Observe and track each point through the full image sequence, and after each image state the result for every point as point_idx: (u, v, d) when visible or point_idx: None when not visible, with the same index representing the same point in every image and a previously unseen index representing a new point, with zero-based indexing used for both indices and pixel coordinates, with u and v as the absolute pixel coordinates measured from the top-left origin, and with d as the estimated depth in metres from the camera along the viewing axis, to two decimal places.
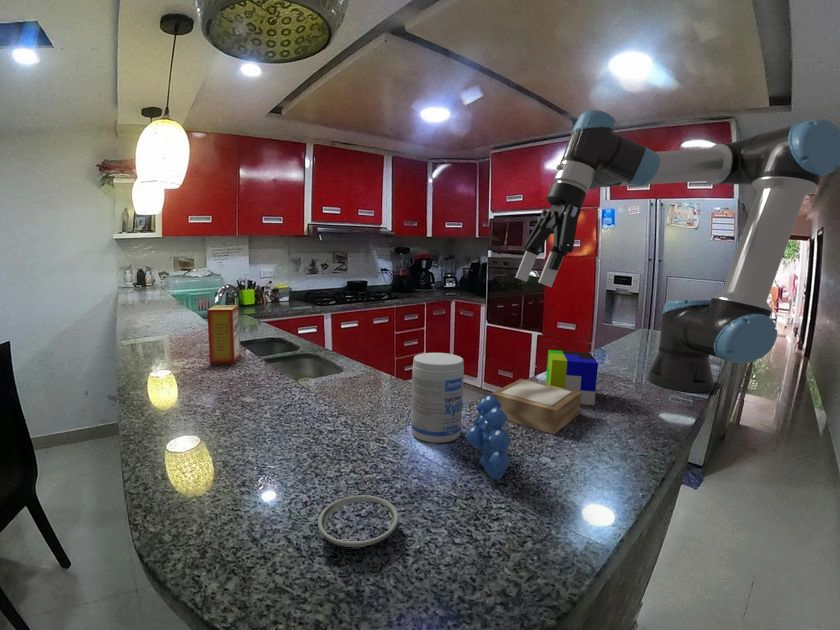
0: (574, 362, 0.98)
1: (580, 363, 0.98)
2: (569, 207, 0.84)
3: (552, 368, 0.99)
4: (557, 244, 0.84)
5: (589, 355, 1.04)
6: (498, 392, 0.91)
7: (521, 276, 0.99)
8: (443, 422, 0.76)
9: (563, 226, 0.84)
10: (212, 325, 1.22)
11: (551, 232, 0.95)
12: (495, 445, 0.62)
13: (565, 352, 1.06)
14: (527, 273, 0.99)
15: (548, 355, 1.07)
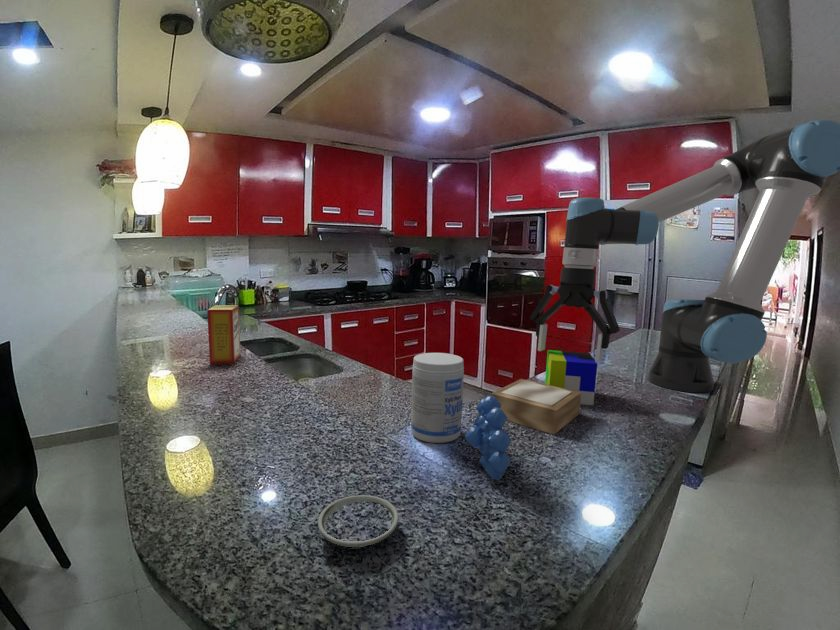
0: (573, 362, 0.98)
1: (579, 363, 0.97)
2: (604, 293, 0.95)
3: (551, 368, 0.99)
4: (605, 327, 0.96)
5: (588, 355, 1.04)
6: (498, 392, 0.91)
7: (542, 347, 1.06)
8: (443, 422, 0.76)
9: (606, 311, 0.95)
10: (212, 324, 1.22)
11: None
12: (495, 445, 0.62)
13: (564, 352, 1.06)
14: (544, 342, 1.07)
15: (547, 355, 1.07)
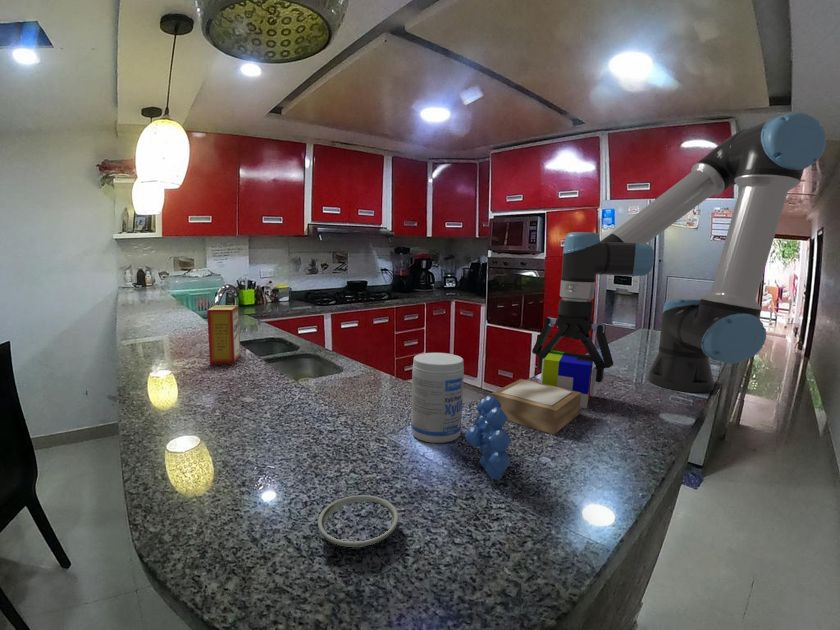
0: (566, 363, 0.97)
1: (572, 364, 0.96)
2: (601, 328, 0.96)
3: (544, 368, 0.99)
4: (599, 362, 0.98)
5: (589, 357, 1.01)
6: (498, 392, 0.91)
7: None
8: (443, 422, 0.76)
9: (601, 346, 0.97)
10: (212, 325, 1.22)
11: (563, 336, 1.05)
12: (495, 445, 0.62)
13: (566, 353, 1.05)
14: None
15: None
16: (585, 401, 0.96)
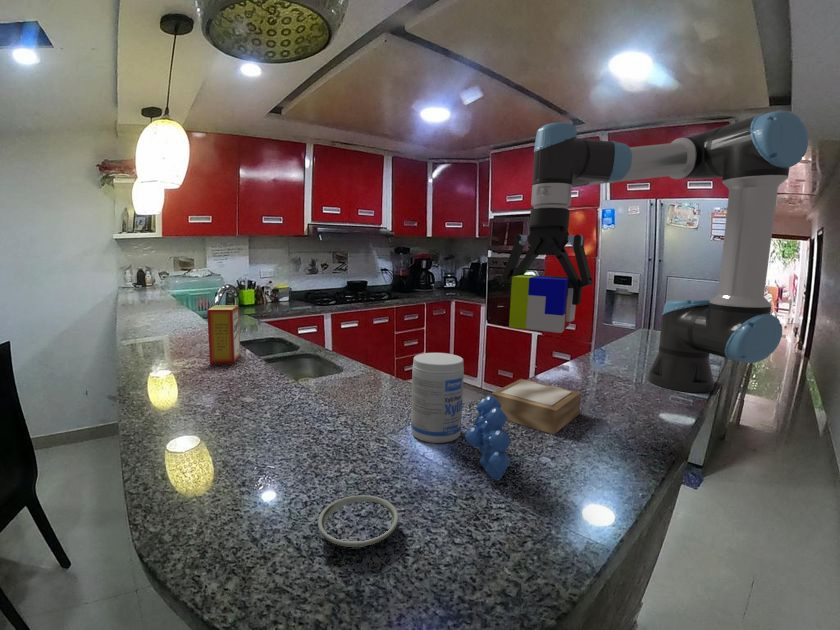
0: (537, 279, 0.81)
1: (544, 280, 0.81)
2: (579, 238, 0.81)
3: (512, 287, 0.84)
4: (576, 280, 0.82)
5: (567, 277, 0.86)
6: (498, 392, 0.91)
7: None
8: (443, 422, 0.76)
9: (579, 259, 0.81)
10: (212, 324, 1.22)
11: (536, 256, 0.89)
12: (495, 445, 0.62)
13: None
14: None
15: None
16: (560, 324, 0.80)
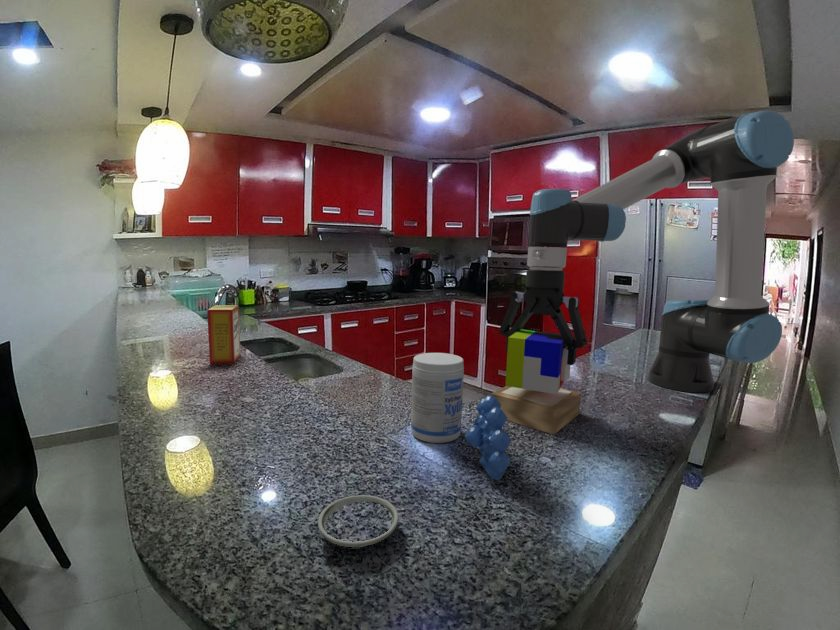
0: (533, 341, 0.83)
1: (539, 342, 0.82)
2: (574, 301, 0.83)
3: (508, 347, 0.85)
4: (571, 341, 0.84)
5: None
6: (498, 392, 0.91)
7: None
8: (443, 422, 0.76)
9: (573, 322, 0.83)
10: (212, 324, 1.22)
11: (532, 313, 0.91)
12: (495, 445, 0.62)
13: (537, 332, 0.91)
14: None
15: None
16: (555, 386, 0.82)
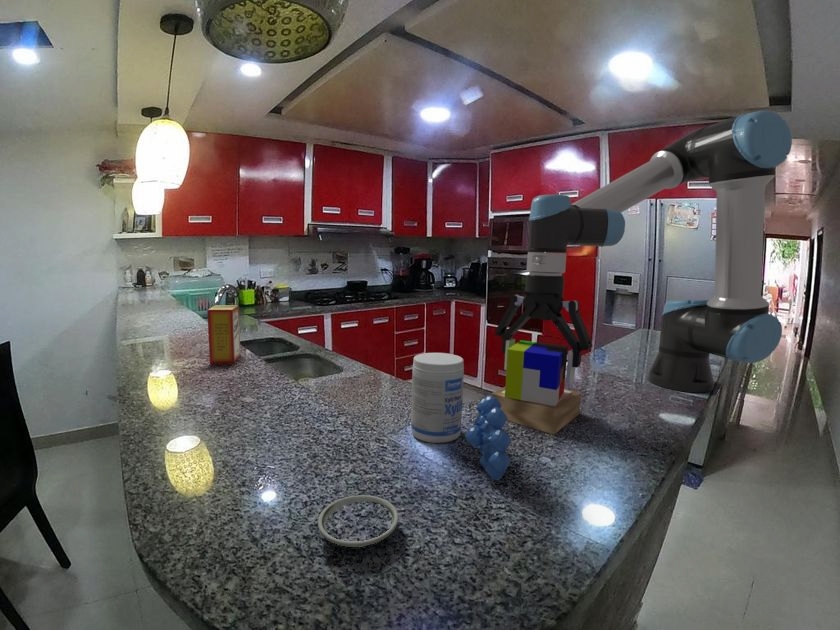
0: (532, 353, 0.84)
1: (538, 355, 0.83)
2: (573, 304, 0.83)
3: (508, 359, 0.86)
4: (575, 343, 0.83)
5: (562, 348, 0.88)
6: (498, 392, 0.91)
7: None
8: (443, 422, 0.76)
9: (576, 325, 0.83)
10: (212, 325, 1.22)
11: (530, 317, 0.91)
12: (495, 445, 0.62)
13: (537, 343, 0.91)
14: None
15: None
16: (554, 398, 0.83)
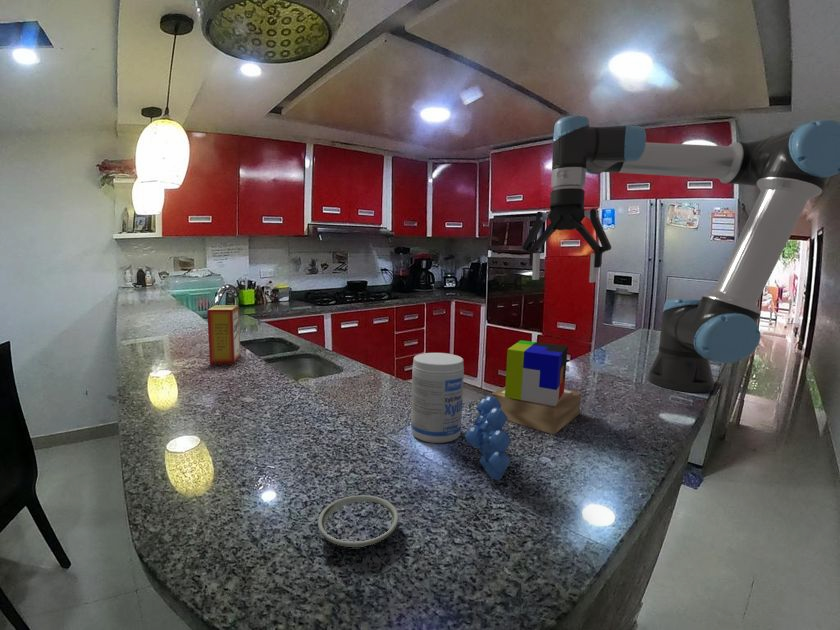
0: (532, 353, 0.84)
1: (538, 355, 0.83)
2: (594, 211, 0.95)
3: (508, 359, 0.86)
4: (597, 246, 0.96)
5: (562, 348, 0.88)
6: (498, 392, 0.91)
7: (536, 276, 1.06)
8: (443, 422, 0.76)
9: (597, 229, 0.96)
10: (212, 325, 1.22)
11: (554, 231, 1.04)
12: (495, 445, 0.62)
13: (537, 343, 0.91)
14: (538, 272, 1.07)
15: None
16: (554, 398, 0.83)
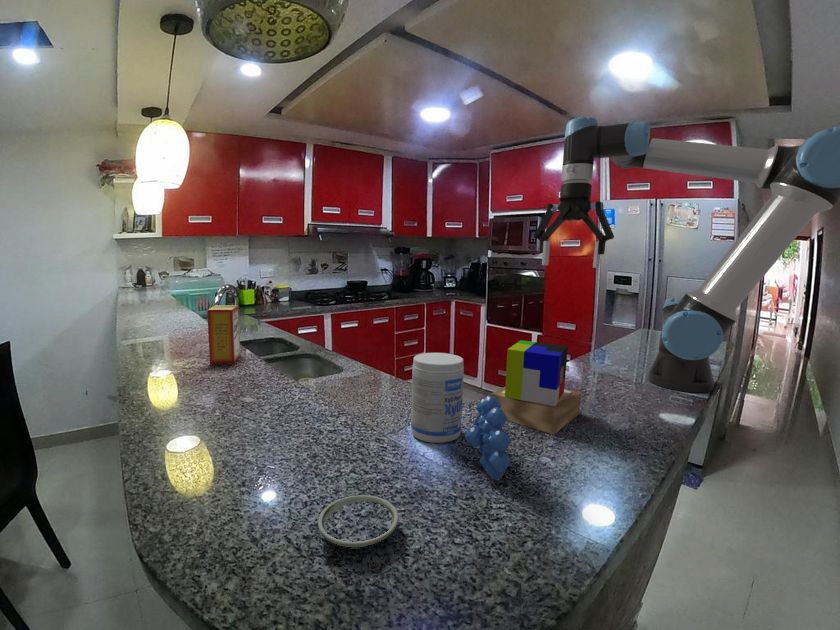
0: (532, 353, 0.84)
1: (538, 355, 0.83)
2: (599, 203, 1.06)
3: (508, 359, 0.86)
4: (601, 235, 1.07)
5: (562, 348, 0.88)
6: (498, 392, 0.91)
7: (546, 262, 1.17)
8: (443, 422, 0.76)
9: (601, 220, 1.06)
10: (212, 325, 1.22)
11: (563, 221, 1.15)
12: (495, 445, 0.62)
13: (537, 343, 0.91)
14: (547, 258, 1.18)
15: None
16: (554, 398, 0.83)
